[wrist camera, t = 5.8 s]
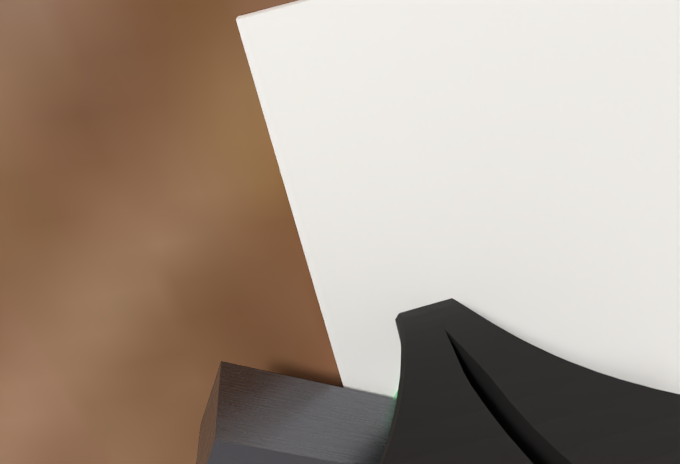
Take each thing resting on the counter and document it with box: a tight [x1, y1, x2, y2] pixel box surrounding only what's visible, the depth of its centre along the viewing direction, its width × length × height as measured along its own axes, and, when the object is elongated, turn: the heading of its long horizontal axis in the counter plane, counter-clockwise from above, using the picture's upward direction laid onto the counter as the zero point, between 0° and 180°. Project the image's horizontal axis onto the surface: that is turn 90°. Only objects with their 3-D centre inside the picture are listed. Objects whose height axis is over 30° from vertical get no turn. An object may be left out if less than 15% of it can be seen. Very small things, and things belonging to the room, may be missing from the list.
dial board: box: [236, 0, 680, 399], centre depth 16 cm, size 13×26×2 cm, turn 14°
